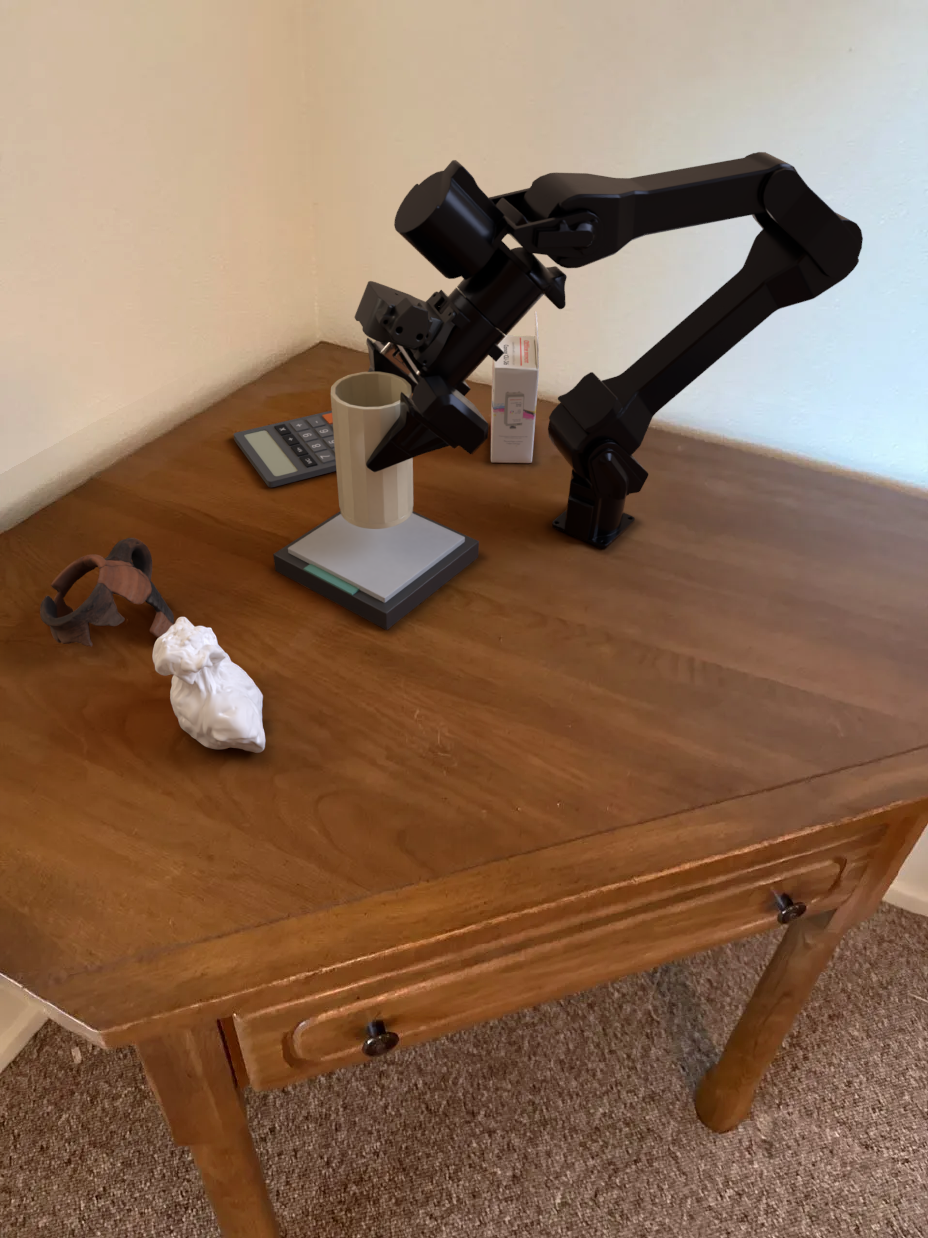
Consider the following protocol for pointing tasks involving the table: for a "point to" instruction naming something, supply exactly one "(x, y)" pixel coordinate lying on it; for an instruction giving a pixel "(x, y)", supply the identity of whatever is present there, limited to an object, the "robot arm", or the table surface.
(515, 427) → the ink cartridge box
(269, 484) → the calculator
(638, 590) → the table surface
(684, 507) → the table surface
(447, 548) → the scale
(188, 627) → the white tied bag
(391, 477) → the cup
